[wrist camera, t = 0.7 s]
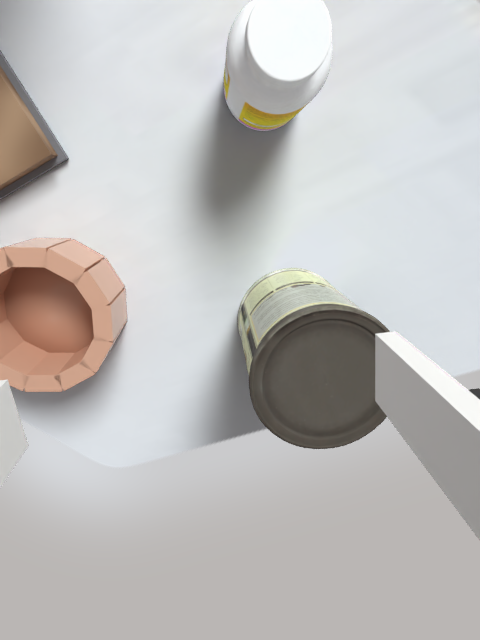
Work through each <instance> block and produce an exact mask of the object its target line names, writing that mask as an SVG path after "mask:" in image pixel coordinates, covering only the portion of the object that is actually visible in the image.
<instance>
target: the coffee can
mask: <svg viewBox="0 0 480 640" xmlns="http://www.w3.org/2000/svg"><path fill="white" fill-rule="evenodd" d="M238 329H239V334H240V337H241V339H242V345H243V349H244V354H245V360H246V365H247V370H248V374H249V389H250V396H251V400H252V404H253V407H254V409H255V411H256V413H257V415H258V417H259V419H260V420H261V421H262V423H263V424H264V425H265V426H266V427H267V428H268V429H269V430H270V431H271V432H272V433H273V434H275V435H276V436H277V437H279V438H281V439H282V440H284V441H286V442H288V443H291V444H293V445H296V446H299V447H304V448H312V449H327V448H335V447H340V446H344V445H347V444H349V443H352V442H354V441H356V440H359V439H360V438H362V437H364V436H366V435H367V434H368V433H370V432H371V431H373V430H374V429H375V428H376V427H377V426H378V425H379V424H381V423H382V422H383V421H384V419H385V418H386V417H387V416H386V414H385V413H384V412H383V410H382V409H381V408H380V406H379V405H378V404H377V402H376V401H375V334H378V333H386V332H390V331H389V330H388V329H387V328H386V327H385V326H384V325H383V324H382V323H381V322H380V321H379V320H377V319H376V318H375V317H373V316H372V315H370V314H368V313H366V312H364V311H363V310H361V309H360V308H359V307H358V306H356V305H355V304H354V303H353V302H351V301H350V300H349V299H348V298H346V297H345V296H344V295H343V294H341V293H340V292H339V291H337V290H336V289H335V288H333V287H332V286H331V285H330V284H329V283H328V282H327V281H326V280H325V279H323V278H322V277H321V276H319V275H317V274H315V273H313V272H311V271H308V270H304V269H298V268H288V269H281V270H277V271H274V272H271V273H269V274H267V275H265V276H264V277H262V278H261V279H259V280H258V281H257V282H255V283H254V284H253V286H252V287H251V288H250V289H249V290H248V291H247V293H246V294H245V296H244V298H243V300H242V302H241V305H240V308H239V312H238Z"/></svg>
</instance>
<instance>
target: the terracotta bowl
mask: <svg viewBox="0 0 480 640" xmlns="http://www.w3.org/2000/svg"><path fill="white" fill-rule="evenodd" d="M124 287H125V286H124V284H123V283H122V281H121V280H120V278H119V277H118V275H117V274H116V272H115V271H114V269H113V268H112V266H111V264H110V263H109V261H108V260H107V258H106V259H104V256H103V255H101V254H99V253H98V252H96V251H94V250H92V249H90V248H89V247H87V246H85V245H83V244H81V243H80V242H78V241H76V240H74V239H73V240H71V238H34V239H31V240H27V241H24V242H20V243H17V244H13V245H10V246H6V247H3V248H1V249H0V380H8V382H9V385H10V386H12V387H14V388H16V389H19V390H21V391H23V390H24V389H25V392H62V391H63V390H64V391H65V390H67V389H69V388H71V387H73V386H74V385H76V384H78V383H80V382H82V381H84V380H85V379H87V378H89V377H91V376H93V375H95V373H97V371H98V369H99V368H100V366H101V365H102V363H103V361H104V360H105V358H106V357H107V355H108V353H109V352H110V350H111V349H112V347H113V345H114V343H115V342H116V340H117V338H118V336H119V334H120V333H121V331H122V329H123V327H124V325H125V324H126V322H127V321H126V320H127V306H126V289H125V288H124Z"/></svg>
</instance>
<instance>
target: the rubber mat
mask: <svg viewBox="0 0 480 640" xmlns="http://www.w3.org/2000/svg"><path fill="white" fill-rule="evenodd" d="M0 66H1V68H2V69H3V71H4V72H5V74H6V75H7V77H8V78H9V80H10V82H11V83H12V85H13V86H14V88H15V89H16V91H17V93H18V94H19V96H20V97H21V99H22V100H23V102H24V103H25V105H26V107H27V108H28V110H29V111H30V113H31V114H32V116H33V118H34V119H35V121H36V122H37V124H38V125H39V127H40V128H41V130H42V132H43V133H44V135H45V136H46V138H47V139H48V141H49V142H50V144H51V146H52V147H53V149H54V150H55V152H56V153H57V155H58V156H56V157H55V158H53V159H51V160H50V161H48V162H46V163H45V164H43V165H41V166H40V167H38V168H36V169H35V170H33V171H32V172H30V173H28V174H27V175H25V176H23V177H22V178H20V179H18V180H17V181H15V182H13V183H12V184H10V185H9V186H7V187H5V188H4V189H2V190H0V200H1V199H3V198H5V197H6V196H8V195H10V194H11V193H13V192H15V191H16V190H18V189H19V188H21V187H23V186H24V185H26V184H28V183H29V182H31V181H33V180H34V179H36V178H38V177H39V176H41V175H43V174H44V173H46V172H48V171H49V170H51V169H52V168H54V167H56V166H57V165H59V164H61V163H62V162H64V161H66V160H67V159H69V158H68V156H67V155H66V153H65V152H64V150H63V149H62V147H61V145H60V144H59V142H58V141H57V139H56V138H55V136H54V134H53V133H52V131H51V130H50V128H49V126H48V125H47V123H46V122H45V120H44V119H43V117H42V115H41V114H40V112H39V111H38V109H37V108H36V106H35V104H34V103H33V101H32V100H31V98H30V97H29V95H28V93H27V92H26V90H25V89H24V87H23V85H22V84H21V82H20V81H19V79H18V78H17V76H16V74H15V73H14V71H13V70H12V68H11V67H10V65H9V63H8V62H7V60H6V59H5V57H4V56H3V54H2V52H1V51H0Z"/></svg>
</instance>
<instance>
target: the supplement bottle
mask: <svg viewBox="0 0 480 640" xmlns="http://www.w3.org/2000/svg"><path fill="white" fill-rule="evenodd" d="M331 62H332V25H331V19H330V15H329V12H328V10H327V8H326V6H325V4H324V3H323V1H322V0H251V1H250V2H249V3H248V4H247V5H246V6H245V7H244V8H243V9H242V10H241V11H240V13H239V14H238V15H237V17H236V18H235V20H234V22H233V25H232V27H231V29H230V33H229V36H228V41H227V48H226V61H225V70H224V95H225V99H226V103H227V105H228V107H229V109H230V111H231V113H232V114H233V115H234V117H235V118H236V119H237V120H238V121H239V122H240V123H242V124H243V125H245V126H246V127H248V128H251V129H254V130H258V131H269V130H274V129H277V128H279V127H281V126H283V125H285V124H286V123H287V122H289V121H290V120H291V119H292V118H293V117H294V116H295V115H296V114H298V113H299V112H300V111H301V110H302V109H303V108H304V107H305V106H306V105H307V104H308V103H309V102H310V101H311V100H312V99H313V98H314V97H315V96H316V95H317V94H318V92H319V91H320V90H321V88H322V87H323V85H324V83H325V81H326V79H327V77H328V74H329V71H330V67H331Z"/></svg>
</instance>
